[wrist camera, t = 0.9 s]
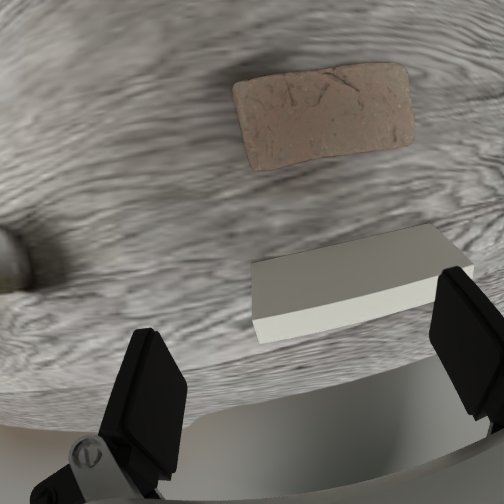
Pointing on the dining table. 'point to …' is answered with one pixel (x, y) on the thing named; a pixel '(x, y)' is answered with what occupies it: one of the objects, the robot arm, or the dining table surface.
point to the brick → (324, 113)
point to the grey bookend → (350, 282)
